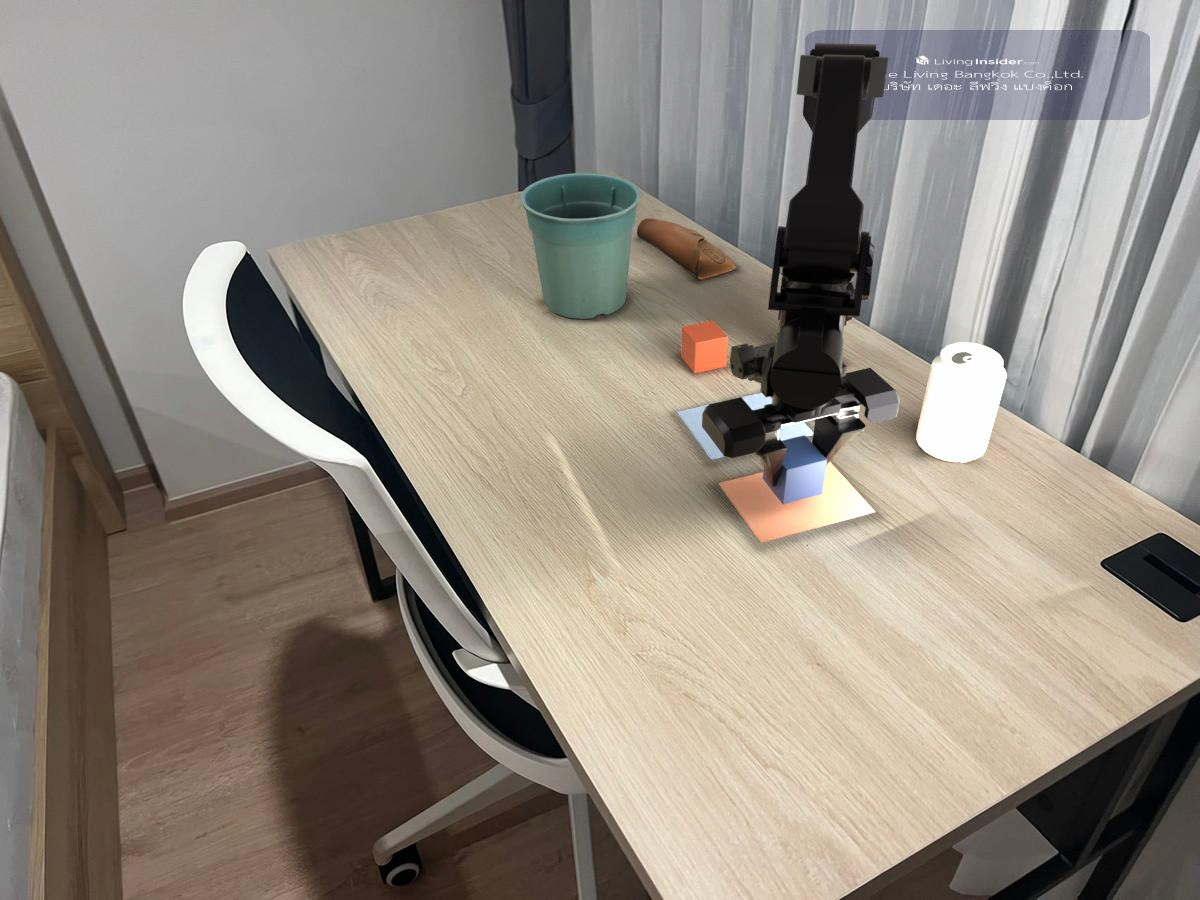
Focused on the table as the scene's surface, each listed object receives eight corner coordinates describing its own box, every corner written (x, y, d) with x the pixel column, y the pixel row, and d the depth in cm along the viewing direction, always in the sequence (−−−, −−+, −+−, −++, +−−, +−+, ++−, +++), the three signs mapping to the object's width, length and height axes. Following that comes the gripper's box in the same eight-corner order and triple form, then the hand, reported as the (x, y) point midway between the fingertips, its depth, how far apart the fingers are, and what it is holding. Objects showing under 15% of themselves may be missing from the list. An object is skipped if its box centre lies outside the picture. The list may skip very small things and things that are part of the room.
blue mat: (773, 393, 111) (774, 389, 110) (814, 438, 103) (815, 434, 103) (676, 415, 108) (676, 411, 107) (710, 463, 100) (711, 459, 100)
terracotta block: (712, 350, 119) (713, 320, 117) (726, 366, 116) (728, 336, 113) (680, 356, 118) (681, 326, 116) (694, 373, 115) (695, 343, 112)
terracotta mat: (824, 460, 100) (825, 455, 99) (874, 515, 92) (875, 511, 92) (717, 487, 97) (717, 482, 96) (760, 547, 89) (760, 542, 89)
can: (935, 420, 105) (956, 330, 98) (996, 446, 101) (1023, 354, 93) (901, 448, 101) (920, 356, 94) (963, 477, 97) (989, 383, 89)
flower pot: (664, 305, 130) (665, 197, 120) (568, 340, 123) (561, 229, 113) (600, 265, 141) (596, 164, 131) (509, 296, 134) (498, 191, 124)
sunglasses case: (741, 266, 138) (725, 235, 133) (707, 297, 138) (689, 267, 133) (679, 226, 151) (662, 197, 146) (648, 254, 151) (630, 226, 146)
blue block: (800, 468, 95) (804, 434, 92) (822, 494, 92) (827, 459, 89) (762, 478, 94) (765, 444, 91) (782, 504, 91) (786, 470, 88)
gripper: (851, 291, 91) (832, 417, 101) (681, 326, 87) (678, 454, 96) (915, 343, 83) (888, 475, 92) (731, 385, 78) (722, 519, 88)
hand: (792, 478), depth 92 cm, fingers closed on blue block, 4 cm apart
